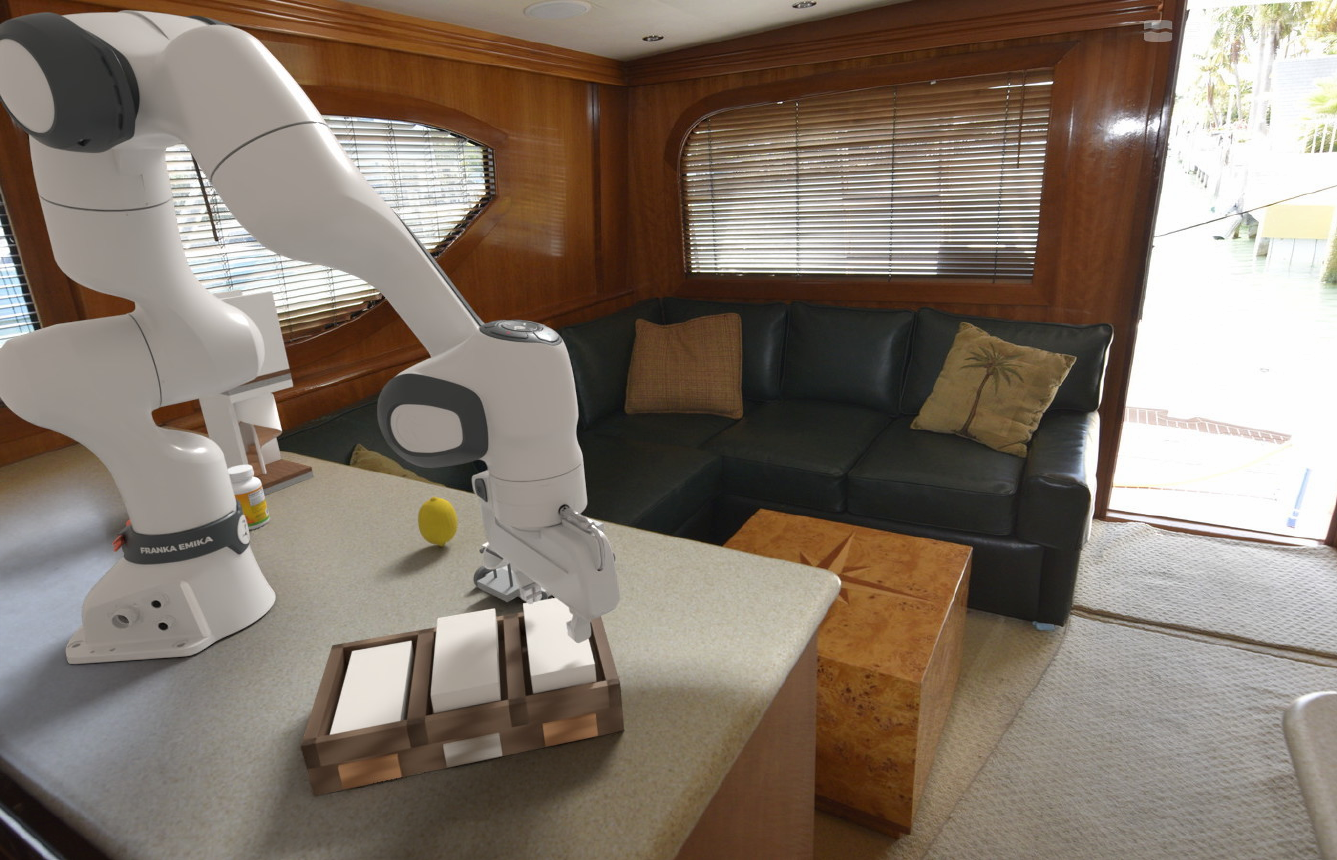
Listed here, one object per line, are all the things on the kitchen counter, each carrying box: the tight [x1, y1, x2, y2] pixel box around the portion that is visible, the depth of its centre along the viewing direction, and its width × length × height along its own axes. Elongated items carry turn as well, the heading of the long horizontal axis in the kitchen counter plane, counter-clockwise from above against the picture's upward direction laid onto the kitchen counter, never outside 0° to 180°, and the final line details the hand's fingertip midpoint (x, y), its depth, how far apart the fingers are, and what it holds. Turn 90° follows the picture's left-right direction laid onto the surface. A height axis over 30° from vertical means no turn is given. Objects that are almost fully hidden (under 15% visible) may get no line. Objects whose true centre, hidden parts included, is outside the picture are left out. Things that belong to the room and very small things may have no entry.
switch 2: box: [431, 608, 501, 713], centre depth 75 cm, size 6×13×2 cm, turn 13°
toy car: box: [473, 518, 616, 603], centre depth 99 cm, size 18×10×12 cm
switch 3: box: [522, 597, 596, 694], centre depth 76 cm, size 6×13×2 cm, turn 13°
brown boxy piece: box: [299, 611, 625, 797], centre depth 76 cm, size 28×16×6 cm, turn 103°
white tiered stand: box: [198, 288, 315, 496], centre depth 134 cm, size 11×11×35 cm
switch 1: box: [330, 641, 415, 735], centre depth 73 cm, size 6×13×2 cm, turn 14°
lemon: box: [417, 496, 458, 547], centre depth 110 cm, size 6×6×8 cm
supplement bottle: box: [228, 465, 271, 531], centre depth 121 cm, size 5×5×10 cm
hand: (554, 618), depth 75 cm, fingers open, 8 cm apart
